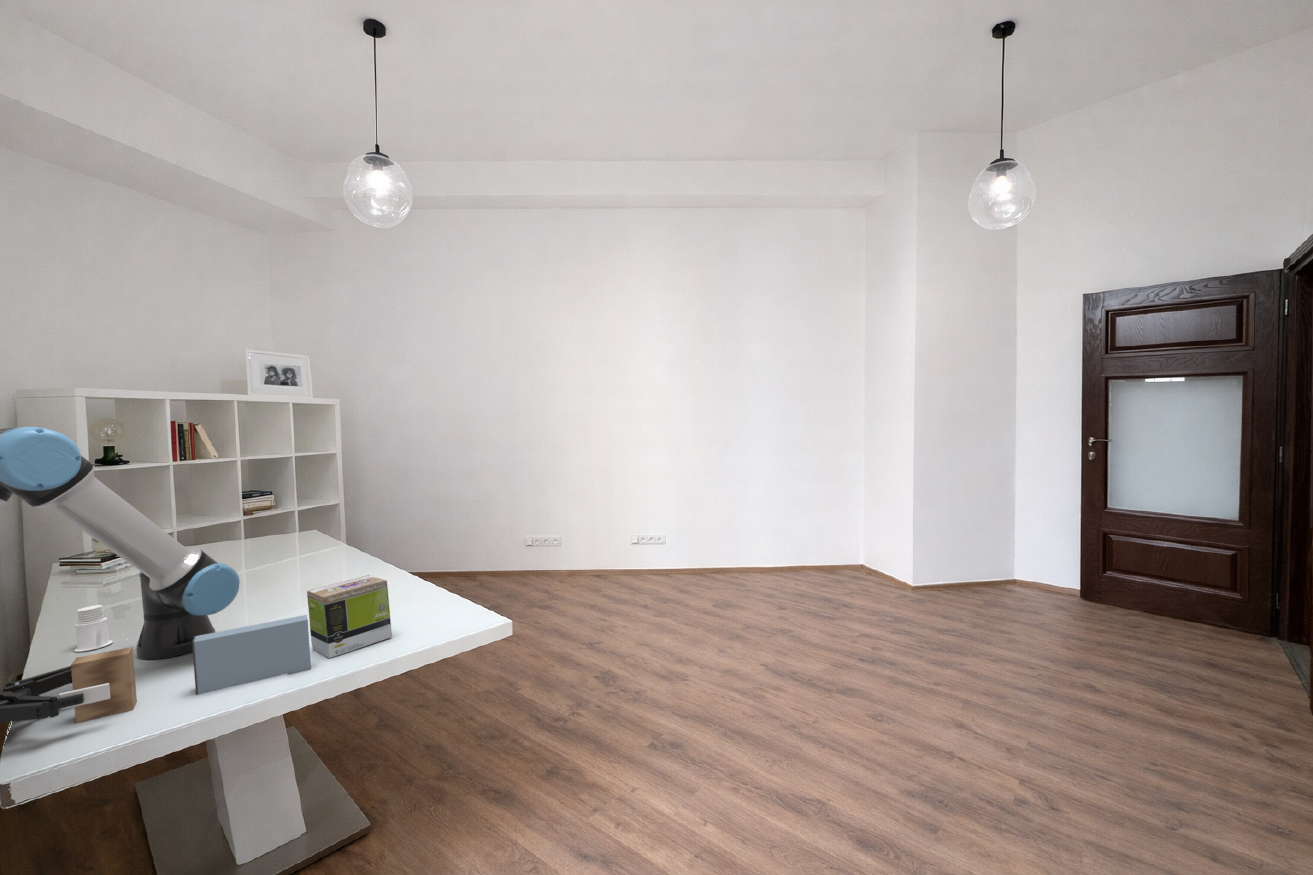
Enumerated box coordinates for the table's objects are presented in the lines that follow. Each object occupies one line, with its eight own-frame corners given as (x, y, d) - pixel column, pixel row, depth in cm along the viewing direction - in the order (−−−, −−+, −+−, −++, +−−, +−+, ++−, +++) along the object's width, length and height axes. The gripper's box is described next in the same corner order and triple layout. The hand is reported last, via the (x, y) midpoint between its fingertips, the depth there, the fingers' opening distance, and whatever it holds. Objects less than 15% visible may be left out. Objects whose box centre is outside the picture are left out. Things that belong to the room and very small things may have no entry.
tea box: (373, 630, 153) (369, 573, 152) (392, 638, 146) (389, 579, 146) (310, 649, 141) (306, 588, 140) (328, 660, 135) (323, 596, 134)
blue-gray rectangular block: (196, 696, 119) (191, 642, 118) (198, 688, 122) (194, 636, 122) (311, 669, 130) (307, 619, 129) (309, 662, 133) (306, 614, 133)
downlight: (118, 644, 149) (114, 604, 149) (81, 654, 143) (76, 613, 143) (106, 640, 154) (102, 602, 153) (69, 650, 148) (65, 610, 147)
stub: (75, 723, 109) (70, 664, 109) (81, 714, 113) (76, 657, 112) (133, 709, 114) (128, 653, 113) (136, 701, 117) (132, 646, 116)
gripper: (-17, 704, 113) (130, 673, 124) (-80, 768, 92) (104, 723, 104) (-21, 666, 112) (127, 638, 124) (-85, 721, 92) (100, 681, 103)
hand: (117, 677), depth 114 cm, fingers open, 13 cm apart
